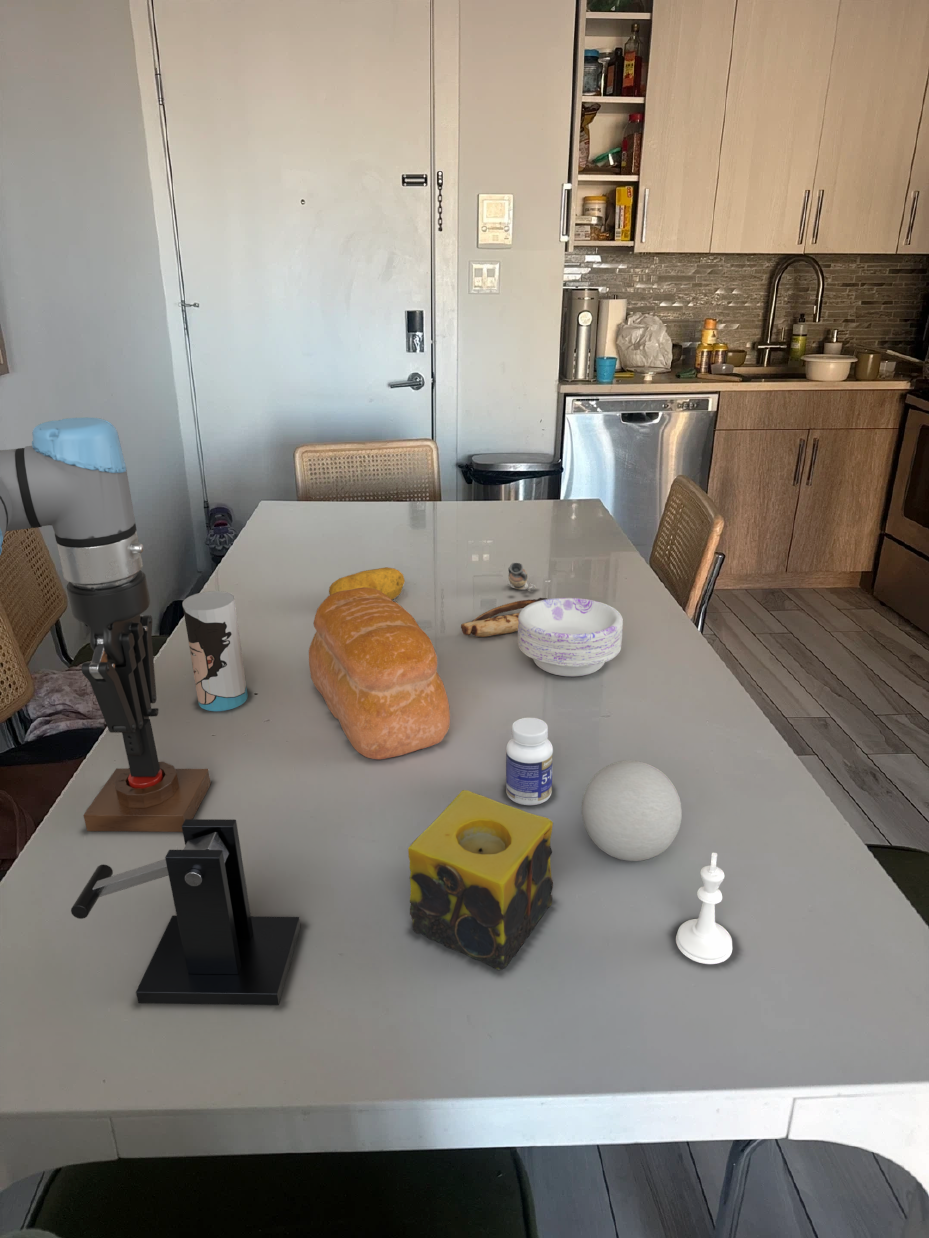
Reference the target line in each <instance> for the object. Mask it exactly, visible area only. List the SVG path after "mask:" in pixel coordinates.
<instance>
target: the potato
mask: <svg viewBox="0 0 929 1238" xmlns="http://www.w3.org/2000/svg"><path fill="white" fill-rule="evenodd" d="M405 582H406V580H405V577H404V574H403V573H402V572H401V571H400V570H399V569H396V568H393V567H389V566H387V567H385V566H384V567H380V568H373V569H367V570H362V571H359V572H356V573H353V574H348V575H346V576H343V577H339V578H338V579H336V580H335V581H334V582H332V583H331V584H330V586H329V589H328V594H329V595H331V594H333V593H336V592H339V591H344V590H351V589H356V588H362V587H366V588H373V589H377V590H379V591H381V592H382V593H384V594H385V595H387V596H388V597H389V598H391V600H392V601H394V599H396V598H397V597H398V596H399V595H400V594H401V593H402V591H403V587H404V585H405Z"/></svg>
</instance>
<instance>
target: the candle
mask: <svg viewBox="0 0 929 1238" xmlns="http://www.w3.org/2000/svg"><path fill="white" fill-rule="evenodd" d="M553 825H554V822H553V820H551V819H550V818H548V817H545V816H542V815H538V814H534V813H530V812H528V811H525V810H523V809H520V808H517V807H514V806H511V805H508V804H505V803H503V802H500V801H497V800H494V799H492V798H489V797H487V796H484V795H482V794H478V793H475V792H474V791H470V790H467V789H463V790H461V791H460V792H459V794H457V795H456V797H455V798H454V799H453V800H452V801H451V802H450V803H449V804H448V805H447V806H446V807H445V808H444V810H443V811H442V812H441V813H440V814H439V815H438V817H436V819H434V821H432V823H431V824H430V825H429V826H427V828H425V830H423V832H422V833H421V834H420V835H419V836H417V838H415V840H414V841H413V842H412V843H411V844H410V845H409V847H408V848H407V851H408V853H407V854H408V860H409V866H408V868H409V870H410V875H409V882H410V883H409V884H410V885H409V887H410V896H409V904H410V906H409V916H410V917H411V920H412V924H411V928H412V930H413V931H414V932H415V934H420V935H423V936H424V937H426V938H428V939H429V940H432V941H436V942H437V943H440V944H442V945H443V946H444V947H446V948H449V949H451V950H454V951H456V952H459V953H460V954H464V955H466V956H468V957H471V958H472V959H473V960H476V961H481V962H482V963H484V964H486V965H488V966H490V967H492V968H494V969H495V970H498V971H499V970H500V971H502V970H504V969H505V968H506V967H507V966H508V965H509V964H510V962H511V961H512V958H514V957H515V956H516V955H517V954H518V952H519V950H520V947H522V946H523V944H524V943H526V939H527V938H528V937H529V936H530V935H531V933H532V931H534V930H535V927H536V925H537V924H538V922H539V921H540V920H541V918H542V917H543V916H544V914H545V913H546V910H548V909H549V908H550V907H551V906H552V903H553V895H552V893H553V892H552V891H553V887H554V882H553V881H554V880H553V878H552V867H551V856H552V855H553V849H552V847H551V838H552V833H553Z"/></svg>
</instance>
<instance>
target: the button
mask: <svg viewBox="0 0 929 1238" xmlns="http://www.w3.org/2000/svg"><path fill="white" fill-rule="evenodd" d="M162 780H163V775H162V771H161V769H160V770H159V771H158V773H157V775H156V776H155V777H131V774H130V775H129V777H128V781H129V785H130V787H132V788H147V787H150V786H154V785H156V784H157V783H159V782H161V781H162Z"/></svg>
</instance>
